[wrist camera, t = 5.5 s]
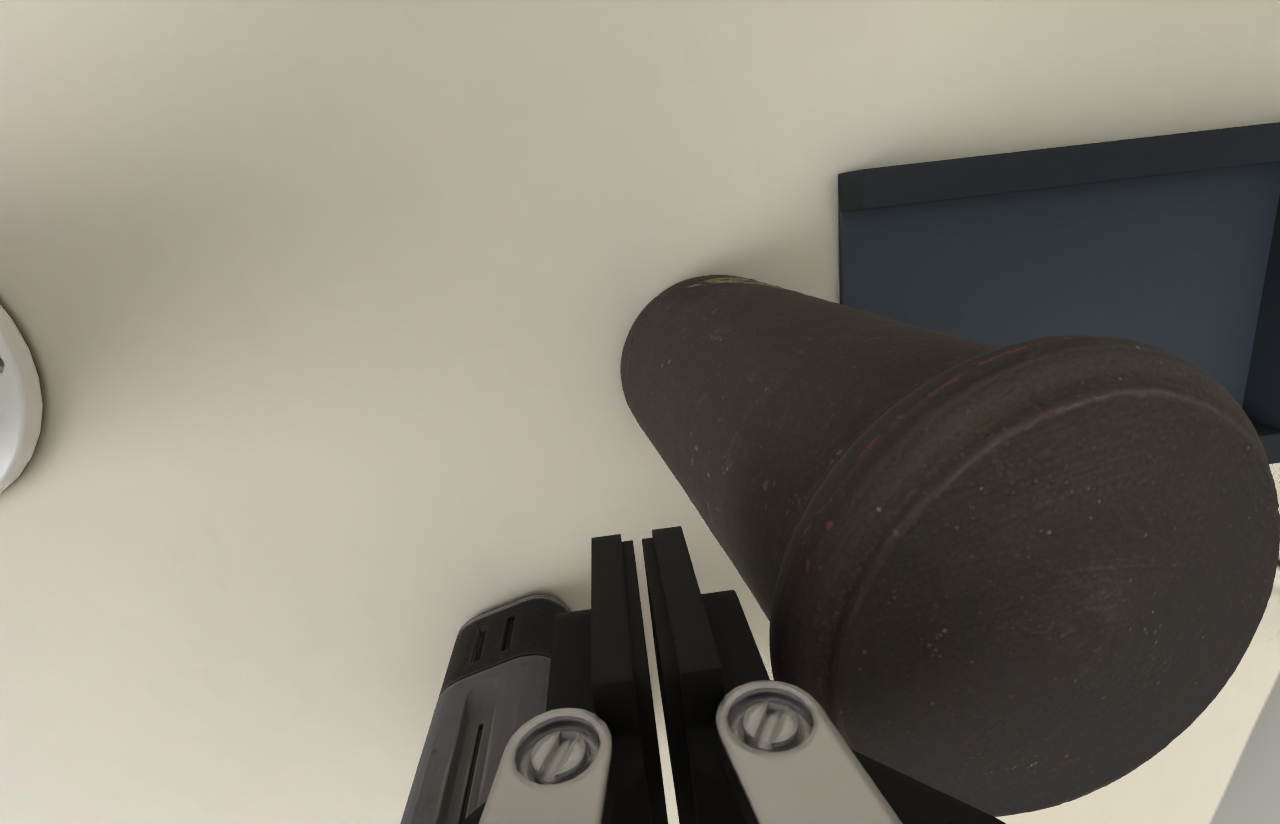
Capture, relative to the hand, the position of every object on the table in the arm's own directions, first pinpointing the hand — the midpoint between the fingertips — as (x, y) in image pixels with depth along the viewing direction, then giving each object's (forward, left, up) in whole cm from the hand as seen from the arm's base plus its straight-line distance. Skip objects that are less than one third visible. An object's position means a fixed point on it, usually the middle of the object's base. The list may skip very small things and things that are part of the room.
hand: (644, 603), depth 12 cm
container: (+5, 0, -17) cm, 18 cm away
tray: (+21, 0, -18) cm, 27 cm away
